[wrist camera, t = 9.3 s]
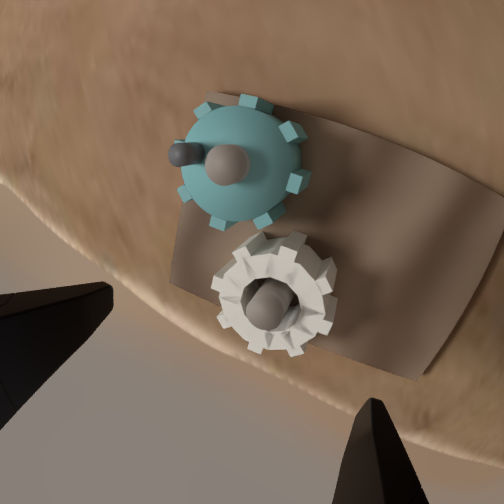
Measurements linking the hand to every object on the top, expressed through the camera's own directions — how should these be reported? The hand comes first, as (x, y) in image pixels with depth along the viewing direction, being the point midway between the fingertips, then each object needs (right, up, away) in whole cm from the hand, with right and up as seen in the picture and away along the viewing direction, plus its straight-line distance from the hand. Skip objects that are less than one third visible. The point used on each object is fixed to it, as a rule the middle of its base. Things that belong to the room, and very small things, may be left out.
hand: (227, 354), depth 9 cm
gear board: (+6, +4, +10) cm, 12 cm away
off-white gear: (+3, +1, +11) cm, 11 cm away
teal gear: (+1, +8, +9) cm, 12 cm away
